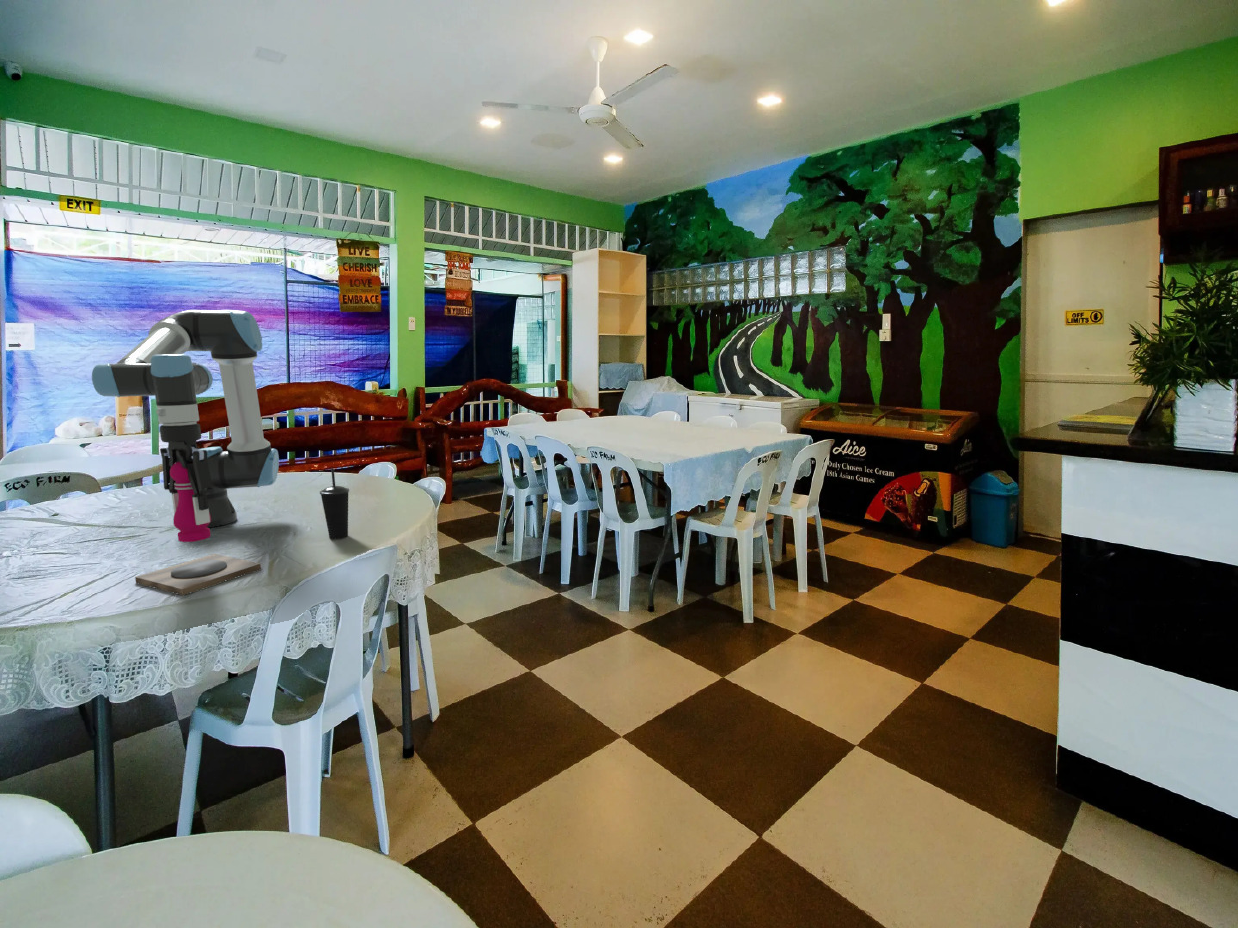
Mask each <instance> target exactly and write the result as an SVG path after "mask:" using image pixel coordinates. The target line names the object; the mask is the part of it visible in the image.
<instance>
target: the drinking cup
mask: <svg viewBox="0 0 1238 928" xmlns="http://www.w3.org/2000/svg"><path fill="white" fill-rule="evenodd" d="M330 472H331V482H332V485H330V486H328V487H325V488H324V489H321V490H320V491H319V495H320V496H321V502H322V507H323V512H324V517H325V522H326V527H327V532H328V538H329V539H330V540H341V539H345V538H347V537H349V492H350V489H349V488H348V487H345V486H341V485H336V479H335V478H336V477H335V468H333V467H332V468H330Z"/></svg>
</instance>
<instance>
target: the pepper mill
mask: <svg viewBox="0 0 1238 928" xmlns="http://www.w3.org/2000/svg"><path fill="white" fill-rule="evenodd" d="M191 464H193V463H191ZM170 476H171V478H172V479H174V480H175V481H176V483H174V485H175V489H177V491H178V497H179V501H178V506H177V509H176V511H175V514H174V513H173V514H174V515H173V520H172V521H173V526H174V527H175V528H176V529H178V533H177V540H178V542H181V543H193V542H198V541H203V540H206V539H209V538H210V537H211V535H212V534H211V529H210V528H207V526H208V525H209V523H210V522H211V516H210V513H209V516H210V522H208V523H204V524H200V525H196V520H195V512H194V505H193V497H192V495H194V491H193V488H192V486H191V483H190V480H189V477H188V472H187V469H184V468H183V467H182V465H181V462H177V463H175V464H173V465H172V467H171V469H170Z"/></svg>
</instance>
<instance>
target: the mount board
mask: <svg viewBox="0 0 1238 928" xmlns="http://www.w3.org/2000/svg"><path fill="white" fill-rule="evenodd" d="M259 569H261V570H262V565H261V563H259V562H254V561H251V560H245V559H240V558H235V557H231V556H227V555H222V554H217V553H213V554H209V555H205V556H202V557H199V558H195V559H192V560H191V559H190V560H189V561H185V562H183V563H179V564H175V565H171V566H167V567H165V568H161V569H157V570H154V571H150V572H147V573H144V574H140V575H137V576H135V577H134V579H135V584H137V583H139V584H138V585H141V584H142V585H141V586H145V587H149V586H151V587H150V588H152V587H155V588H154V589H156V588H157V589H156V590H160V589H161V591H165V592H168V593H171V592H174V593H173V594H175V593H178V594H177V595H179V594H181V595H180V596H183V595H184V596H186V595H185V594H187V595H189V594H188V593H190V592H193V593H195V592H198V591H197V590H199V591H201V590H200V589H202V590H204V589H203V588H205V589H207V588H206V587H208V588H210V587H209V586H211V587H213V586H217V585H219V584H221V583H220V582H222V583H224V582H223V581H225V580H228V581H231V580H234V579H236V578H235V577H237V578H239V577H238V576H240V577H242V576H241V575H243V576H245V575H244V574H246V575H248V574H251V573H254V571H255V572H258V571H260V570H259ZM257 570H258V571H257ZM233 578H234V579H233ZM230 579H231V580H230ZM225 582H226V581H225ZM218 583H219V584H218ZM190 594H191V593H190Z"/></svg>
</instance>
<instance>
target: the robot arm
mask: <svg viewBox="0 0 1238 928" xmlns="http://www.w3.org/2000/svg"><path fill="white" fill-rule="evenodd" d="M262 340H263V338H262V334H261V330H260V327H259V324H258V322H257V320H256V318H255V316H254V315H253V314H251V313H250V312H249V311H245V310H235V309H221V310H220V309H217V310H216V309H215V310H214V309H211V310H209V309H208V310H207V309H205V310H204V309H201V310H200V309H189V310H184V311H179V312H176V313H173V314H170V315H168V316H167V317H164V318H162V319H160V320H159V321H157V322H155V324H153V325H152V326H151V328H150V329H149V331H148V335H147V336H146V337H145V338H144V339H143V340H141V342H139V343H138V344H137V345H136V346H134V348H132V349H131V350H130V351H129V352H127V354H125V356H123V357H122V358H121V359H119V361H118V362H117V363H110V362H108V363H102V364H101V363H100V364H97V365H95V366H94V367H93V369H92V373H91V382H92V385H93V388H94V389H95V391H96V392H97V394H99V395H100V396H102V397H116V398H120V397H121V398H122V397H125V398H127V397H148V396H149V397H151V396H153V397H155V404H156V411H155V412H156V415H157V417H158V423H159V424H162V425H160V426H159V427H158V429H159V433H160V441H161V442H162V443H167V444H168V445H167V447H162V448H159V449H160V450H159V451H160V455H161V459H162V462H161V463H162V475H163V478H162V479H163V480H162V481H163V489H164V490H166V491H168V493H169V494H171V496H172V497H171V499H172V506H173V514H175V511H176V509H177V506H178V501H179V497H178V491H177V489H175V485H174V483H176V481H175V480H174V479H172V478H171V476H170V469H171V467H172V465H173V464H175V463H177V462H181V465H182V467H183V468H184V469H187V472H188V477H189V480H190V483H191V486H192V488H193V491H194V495H192V497H193V505H194V512H195V520H196V525H200V524H204V523H208V522H210V516H211V522H210V523H209V525H208V526H207V528H209V527H211V528H215V527H214V526H217V527H220V526H219V525H222V526H224V525H230V524H231V523H234V522H235V521H238V514H237V512H236V509H235V507H234V506H233V503H232V502H231V500H230V498H229V496H228V489H242V488H262V487H268V486H272V485H273V484H275V483H276V481H277V478H278V473H279V466H280V465H279V464H280V461H279V460H280V458H279V457H280V456H279V451H278V449H276V448H272V447H271V442H270V441H268V439H266V438H264V436H265V435H264V431H263V424H262V417H261V411H260V403H259V398H258V397H259V396H258V390H257V384H256V378H255V371H254V364H253V363H254V361H255V360H256V359H257V358H258V352H260V351H262V349H263V341H262ZM186 352H210V355H211V360H213V361H215V362H216V363H217V364H218V365H219V366H218V367H219V372H220V378H221V385H222V390H223V391H222V392H223V396H224V397H223V398H224V402H225V408H226V414H227V419H228V427H229V433H230V437H231V438H230V439H231V442H230V443H229V444H228V445H227V447H226V449H227V450H225V451H224V450H223V448H222V447H221V446H211V447H204V448H203V447H202V448H199V447H198V445H197V441H198V440H201V439H202V432H201V424H199V423H197V422H199V421H200V415H199V410H198V408H199V407H198V402H197V396H198V395H201V394H203V393H205V392H207V391H208V390H209V389H211V387H212V384H213V381H214V380H213V375H212V373H211V371H210V370H209V369H208V368H207V367H206V366H204V365H203V364H200V363H197V362H192V357H191V356H190V355H188V354H185V353H186ZM191 463H193V464H191ZM209 513H210V516H209ZM209 529H210V528H209Z"/></svg>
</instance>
